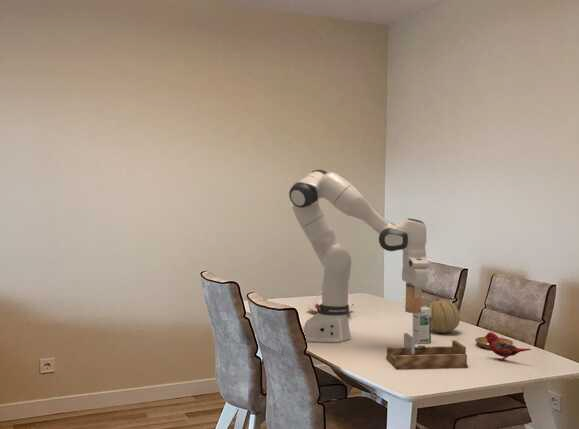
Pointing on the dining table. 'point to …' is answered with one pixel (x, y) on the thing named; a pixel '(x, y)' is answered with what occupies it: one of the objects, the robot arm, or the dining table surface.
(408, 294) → the jar
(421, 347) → the pusher
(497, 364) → the dining table surface
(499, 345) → the decorative bird figurine
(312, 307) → the crumpled cloth
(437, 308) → the cantaloupe
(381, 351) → the dining table surface
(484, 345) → the plant saucer
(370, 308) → the dining table surface
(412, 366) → the shallow wooden crate
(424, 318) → the syrup box
